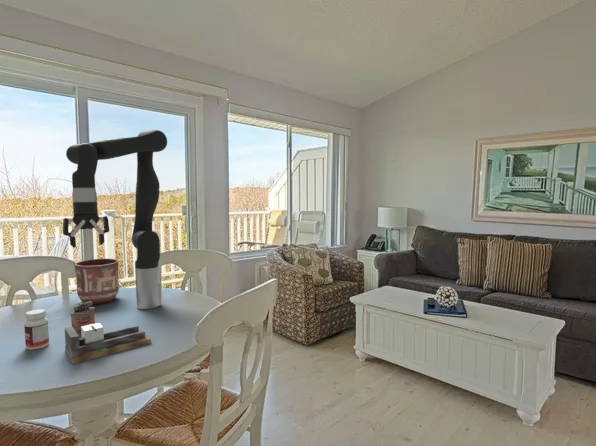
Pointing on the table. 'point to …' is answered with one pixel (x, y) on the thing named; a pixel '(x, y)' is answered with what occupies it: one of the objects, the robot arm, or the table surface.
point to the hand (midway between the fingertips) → (87, 245)
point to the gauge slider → (92, 333)
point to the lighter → (82, 316)
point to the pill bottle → (36, 329)
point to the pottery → (97, 280)
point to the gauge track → (103, 343)
